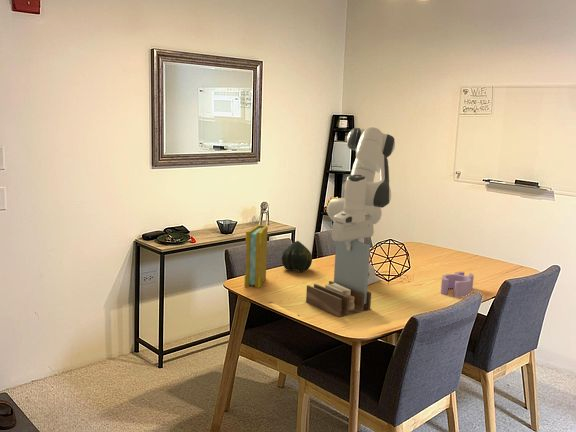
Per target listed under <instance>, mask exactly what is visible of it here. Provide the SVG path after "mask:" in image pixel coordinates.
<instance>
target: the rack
mask: <svg viewBox="0 0 576 432" xmlns="http://www.w3.org/2000/svg"><path fill="white" fill-rule="evenodd" d="M334 283H335V282H334V280H333V281H332V280H329V281H328V284H334ZM336 284H338V283H336ZM338 285H340V284H338ZM340 286H343V285H340ZM343 287H345V286H343ZM345 288H347V289H350V290H351V296H353V297H355V298H354V304H355V307H354V310H351V311H348V310H349V297H347V296H345V295H342V294H340V293H337V292H335V291H333V290H330V289H328V288H325V286H322V285H320V284H318V283H313V286H311V285H310V284H307V285H306V297H305V301H304V303H305V304H308V305H310V306H312V307H314V308H316V309H319V310H321V311H323V312H325V313H327V314H330V315H332V316H334V317H336V318H339V319H340V318H342V317H347V316H352V315H355V314H359V313H364V312H367V311H371V310H373V309H372V308H371V306H372V305H371V304H372V291H369V290H367V301H366V304H364V296H365V294H363V293H361V292H358V291H356V290H353V289H351V288H348V287H345Z"/></svg>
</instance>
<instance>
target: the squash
mask: <svg viewBox="0 0 576 432" xmlns="http://www.w3.org/2000/svg"><path fill="white" fill-rule="evenodd" d="M281 263H282V266H283V268H284V269H285V270H287V271H293V270H294V271H297V272H298V273H303V272H305V271H307V270H309V269H310V267H311V265H312V263H313V256H312V252H311V251H310V250H309V249H308V247H306V246H305V245H304V244H303V243H302V242H301V241H300V240H297V241H294V242H292V243H291V244H290V245H287V247H286V248H285V249H284V251H283V252H282V255H281Z"/></svg>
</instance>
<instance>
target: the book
mask: <svg viewBox="0 0 576 432" xmlns="http://www.w3.org/2000/svg"><path fill="white" fill-rule="evenodd" d="M268 229H269V227H268V225H264V224H257V225H254V226H253V227H252V228H250V229H248V230H246V231H245V243H246V250H245V252H246V254H245V275H244V287H245V288H246V287H247V288H249V287H250V286H251V285H252V286H254V288H260V287H261V286H262V284H263V283H264V281H265V280H266V279H267V255H268V254H267V253H268ZM262 282H263V283H262Z"/></svg>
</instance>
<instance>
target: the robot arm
mask: <svg viewBox="0 0 576 432" xmlns="http://www.w3.org/2000/svg"><path fill="white" fill-rule="evenodd" d="M346 143H347V147H348V149H350V150H352V151H355V160H354V162H353V164H352V169H351V171H350V175H348V176H347V177H346V180H345V185H344V187H343V188H344V189H343V197H338V198H332V199H331V200H330V201H329V202H328V204H327V209H326V213H327V215H328V217H329V218H330V220H331V221H332V222H333V223H332V226H331V235H330V236H331V237H330V238H331V239H332V241H334V242H336V241H337V242H340V241H345V243H346V245H347V250H349V251H350V250H352V246H351V245H350V242H351V240H355V241H359V242H362V243H365V238H370V237H373V236H374V230H375V229H374V228H375V227H374V225H376V224H377V223H379V222H380V221H381V219H382V208H385V207H386V206H388V205H389V204H390V202H391V200H392V192H391V191H392V190H391V187H390V168H389V160H388V158H389V157H390V156H392V154H393V152H394V150H395V147H396V141H395V137H394V136H392V135H391V134H388V133H383V132H382V131H381V130H380V129H379V128H377V127H367V128H365V129H364V128H361V127H354V128H352V129H350V131H349V132H348V134H347V137H346ZM376 172H377V173H378V174H379V181H378V182H374V181H375V176H376ZM370 255H371V254H370ZM370 255H369V257H370ZM380 280H381V278H380V277H379V276H377V275H376V269H375V267H374V266H373V265H372V264H371V263H370V262H369V270H368V285H371V284H375V283H377V282H380Z"/></svg>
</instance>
